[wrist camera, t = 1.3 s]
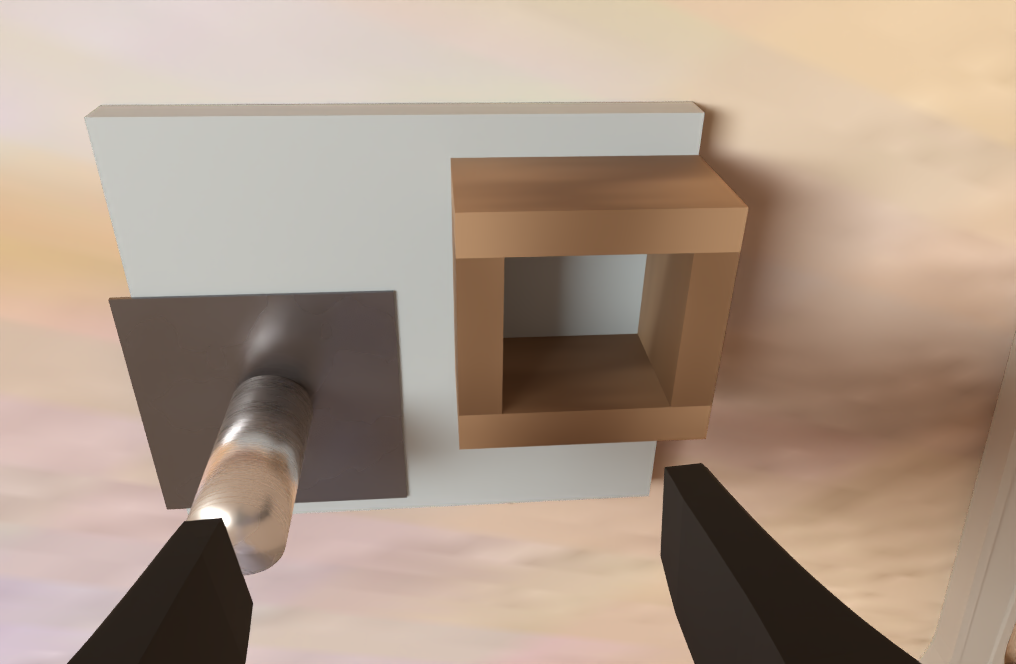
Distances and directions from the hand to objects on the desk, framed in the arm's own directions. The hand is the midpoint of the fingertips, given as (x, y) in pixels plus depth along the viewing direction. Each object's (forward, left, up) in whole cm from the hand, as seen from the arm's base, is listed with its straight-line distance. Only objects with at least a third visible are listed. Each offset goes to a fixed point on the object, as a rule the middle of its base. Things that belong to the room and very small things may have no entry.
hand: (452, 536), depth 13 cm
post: (+1, +6, -10) cm, 11 cm away
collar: (-2, -3, -9) cm, 9 cm away
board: (0, +2, -10) cm, 10 cm away
